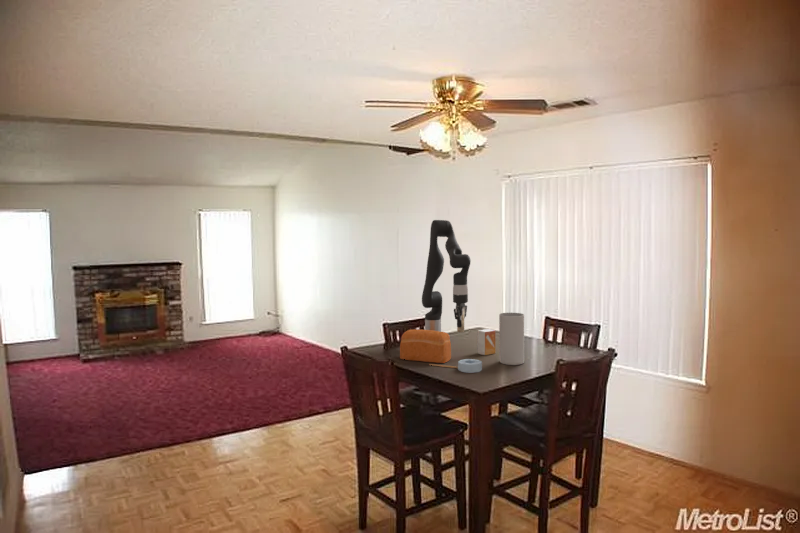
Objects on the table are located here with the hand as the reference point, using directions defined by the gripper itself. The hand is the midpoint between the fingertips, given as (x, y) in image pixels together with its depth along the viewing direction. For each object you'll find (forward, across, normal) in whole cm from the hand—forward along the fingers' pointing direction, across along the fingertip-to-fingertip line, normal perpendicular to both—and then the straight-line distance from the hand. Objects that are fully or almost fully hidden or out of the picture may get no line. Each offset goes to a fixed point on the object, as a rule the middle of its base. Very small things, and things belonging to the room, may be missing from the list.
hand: (460, 326), depth 282 cm
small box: (+19, -26, +6) cm, 33 cm away
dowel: (+3, 0, 0) cm, 3 cm away
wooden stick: (+19, +10, -5) cm, 23 cm away
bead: (+19, +10, +8) cm, 24 cm away
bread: (+20, -1, -20) cm, 28 cm away
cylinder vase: (+19, -12, +24) cm, 33 cm away
